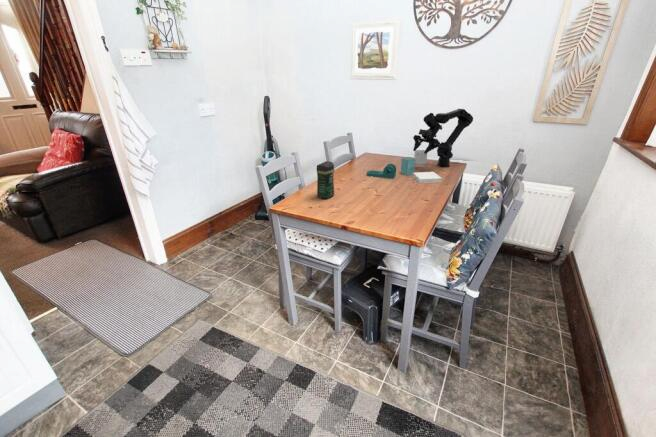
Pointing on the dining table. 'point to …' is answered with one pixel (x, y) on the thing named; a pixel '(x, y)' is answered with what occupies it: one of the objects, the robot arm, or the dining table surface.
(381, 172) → the bracket
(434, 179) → the riser block
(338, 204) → the dining table surface
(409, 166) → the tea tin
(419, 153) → the small box
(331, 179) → the coffee jar
